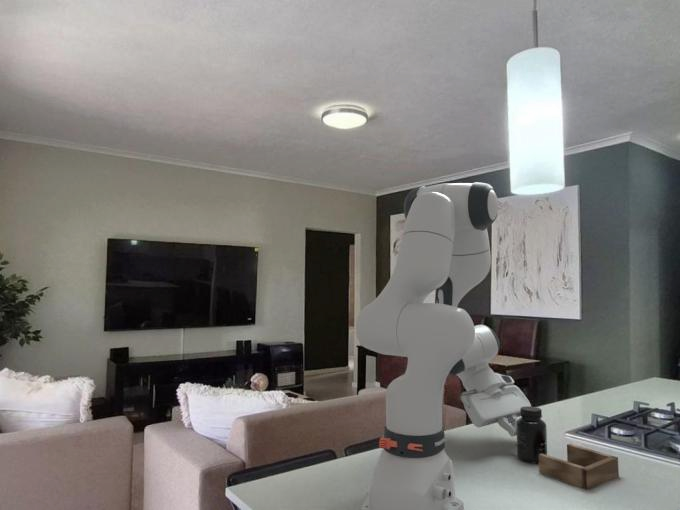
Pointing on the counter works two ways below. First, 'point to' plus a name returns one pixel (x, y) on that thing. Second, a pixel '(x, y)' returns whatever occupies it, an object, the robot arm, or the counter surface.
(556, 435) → the counter surface
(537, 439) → the supplement bottle
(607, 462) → the walnut holder
